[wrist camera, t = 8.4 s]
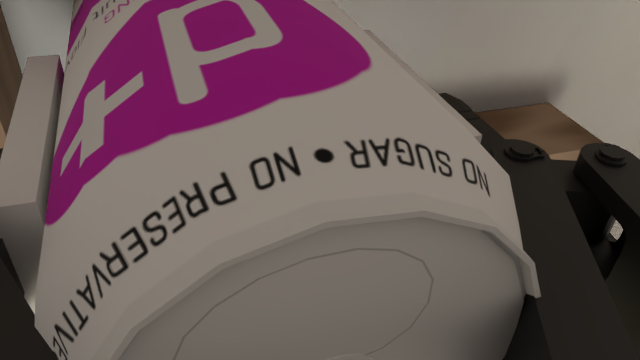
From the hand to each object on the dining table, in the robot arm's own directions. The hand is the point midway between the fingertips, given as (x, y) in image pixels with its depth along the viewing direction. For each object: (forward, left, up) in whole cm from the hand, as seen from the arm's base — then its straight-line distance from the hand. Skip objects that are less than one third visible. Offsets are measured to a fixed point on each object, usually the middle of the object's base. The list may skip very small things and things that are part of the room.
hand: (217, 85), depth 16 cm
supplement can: (0, 0, -4) cm, 4 cm away
